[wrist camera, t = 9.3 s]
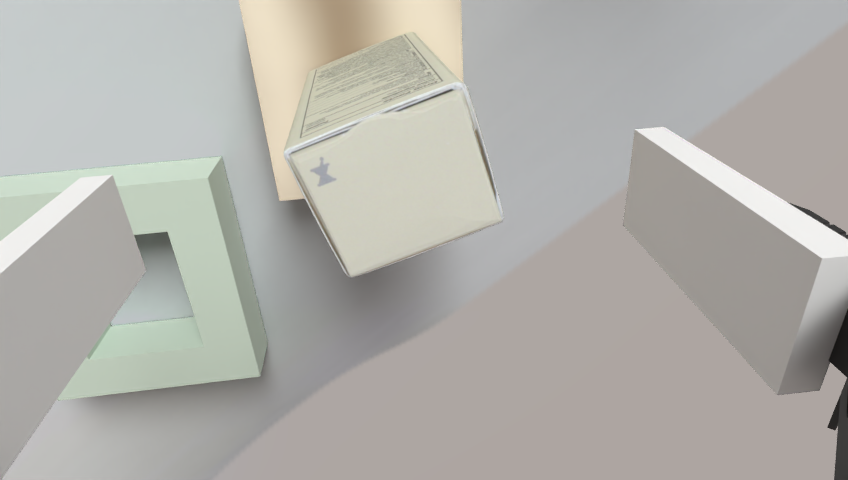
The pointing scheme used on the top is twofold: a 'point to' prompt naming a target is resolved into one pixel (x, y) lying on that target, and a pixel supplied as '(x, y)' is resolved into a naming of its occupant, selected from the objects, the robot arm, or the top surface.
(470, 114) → the box
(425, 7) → the stand
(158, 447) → the top surface
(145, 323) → the socket
